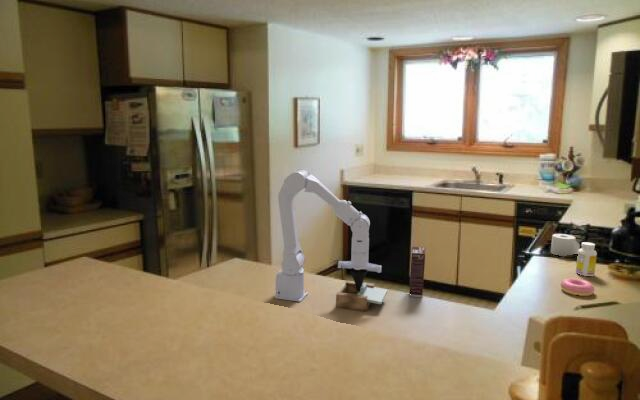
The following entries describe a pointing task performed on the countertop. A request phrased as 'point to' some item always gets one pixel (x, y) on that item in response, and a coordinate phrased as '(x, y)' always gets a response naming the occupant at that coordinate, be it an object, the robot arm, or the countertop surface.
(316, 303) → the countertop surface
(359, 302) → the box
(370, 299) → the lid
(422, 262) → the supplement box
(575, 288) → the doughnut
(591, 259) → the supplement bottle
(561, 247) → the toilet tissue
